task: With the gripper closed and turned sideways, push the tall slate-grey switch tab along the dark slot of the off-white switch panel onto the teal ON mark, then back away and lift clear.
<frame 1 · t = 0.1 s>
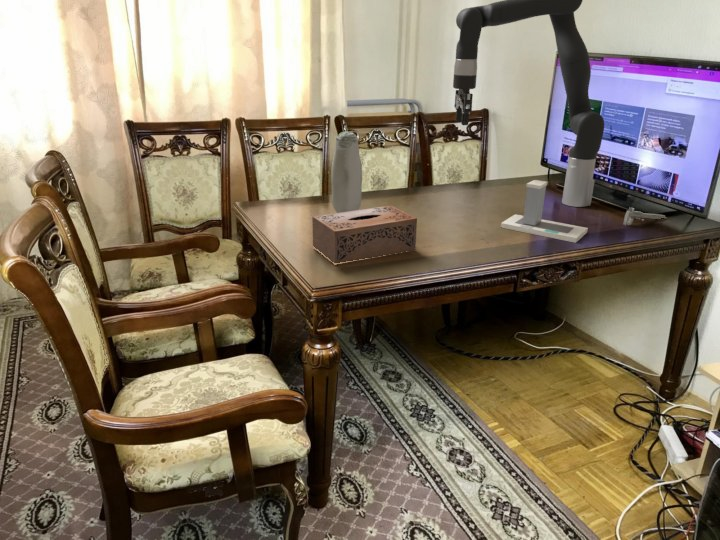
hand: (461, 123, 201), 29 cm above the table, tool pointing down, fingers open, 8 cm apart
switch panel: (543, 229, 187), on the table
tissue box cover: (364, 251, 169), on the table
caliper: (645, 223, 197), on the table
switch tab: (543, 229, 187), slide at 0.0 cm
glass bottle: (346, 215, 200), on the table
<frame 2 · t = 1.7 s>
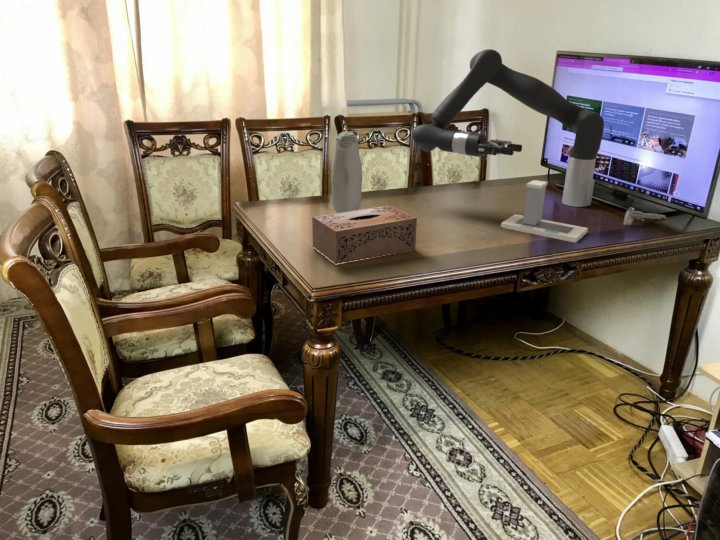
hand: (517, 150, 184), 24 cm above the table, tool horizontal, fingers open, 6 cm apart
nothing on the table moved.
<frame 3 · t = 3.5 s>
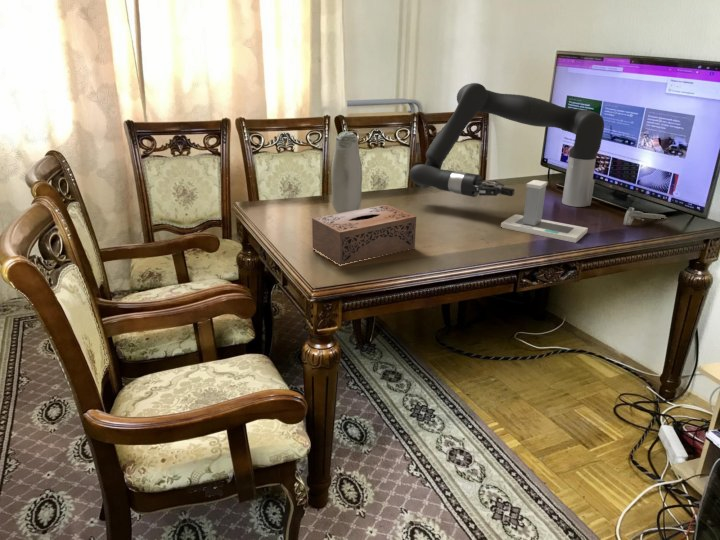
hand: (513, 192, 189), 10 cm above the table, tool horizontal, fingers closed
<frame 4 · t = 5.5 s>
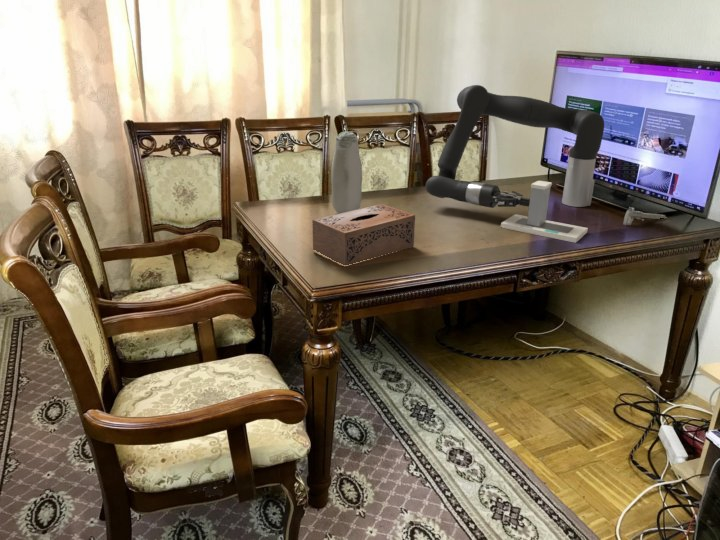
hand: (532, 203, 187), 8 cm above the table, tool horizontal, fingers closed
switch tab: (547, 230, 187), slide at 1.4 cm, touching gripper
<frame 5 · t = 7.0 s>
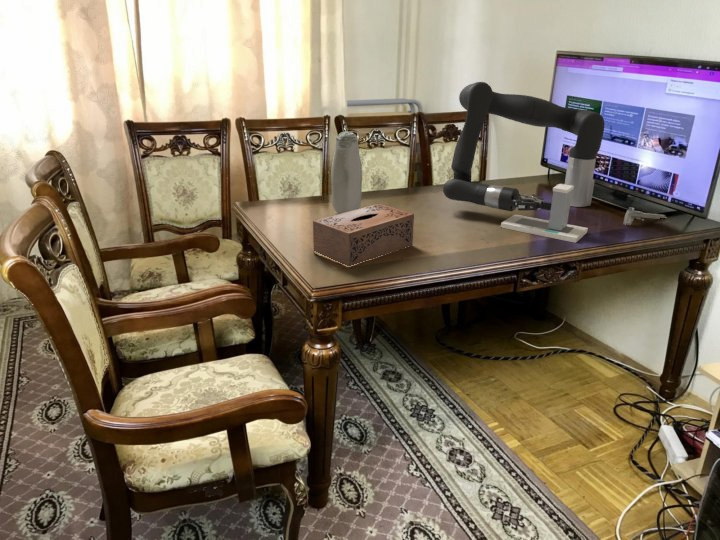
hand: (553, 207, 183), 8 cm above the table, tool horizontal, fingers closed
switch tab: (569, 235, 183), slide at 8.3 cm, touching gripper
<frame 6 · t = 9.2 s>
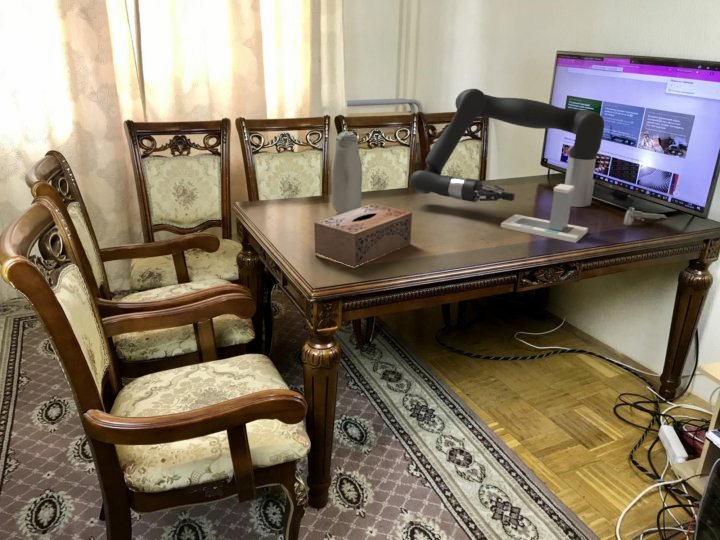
hand: (513, 197, 190), 9 cm above the table, tool horizontal, fingers closed
switch tab: (570, 235, 183), slide at 8.5 cm
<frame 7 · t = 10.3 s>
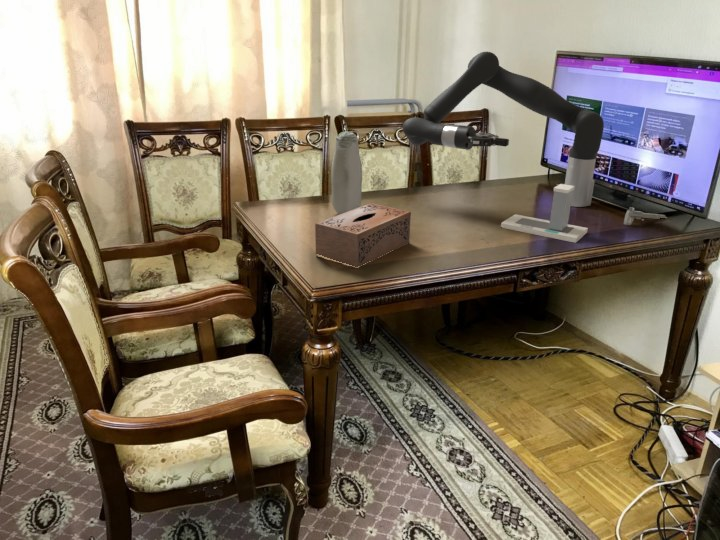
hand: (507, 142, 185), 26 cm above the table, tool horizontal, fingers closed
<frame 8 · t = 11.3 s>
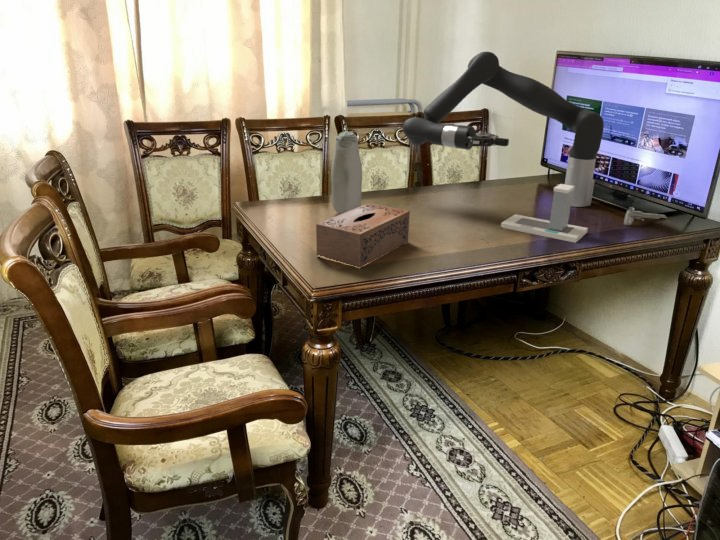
hand: (507, 142, 185), 26 cm above the table, tool horizontal, fingers closed
at the end: switch tab slide at 8.5 cm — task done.
